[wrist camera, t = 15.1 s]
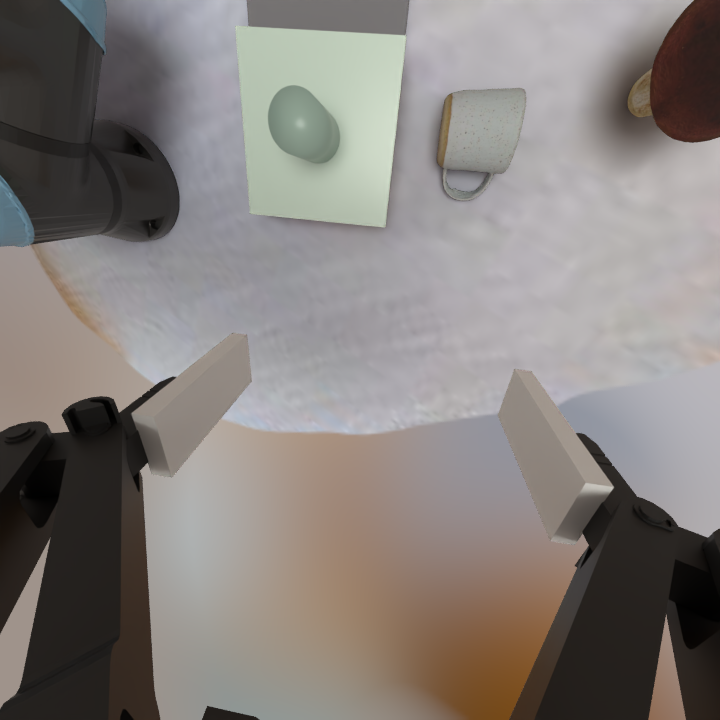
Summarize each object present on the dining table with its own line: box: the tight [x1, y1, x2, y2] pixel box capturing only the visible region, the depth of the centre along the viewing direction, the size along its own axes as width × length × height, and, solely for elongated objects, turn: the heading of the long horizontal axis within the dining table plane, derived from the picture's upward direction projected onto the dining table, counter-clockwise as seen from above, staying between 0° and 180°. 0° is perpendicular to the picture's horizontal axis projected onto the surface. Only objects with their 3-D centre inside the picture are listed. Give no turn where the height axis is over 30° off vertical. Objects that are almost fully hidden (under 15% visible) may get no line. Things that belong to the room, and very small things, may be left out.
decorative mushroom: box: [628, 0, 720, 143], centre depth 28 cm, size 11×11×15 cm
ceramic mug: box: [437, 88, 526, 201], centre depth 36 cm, size 11×8×8 cm
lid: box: [235, 26, 406, 227], centre depth 31 cm, size 17×17×9 cm
